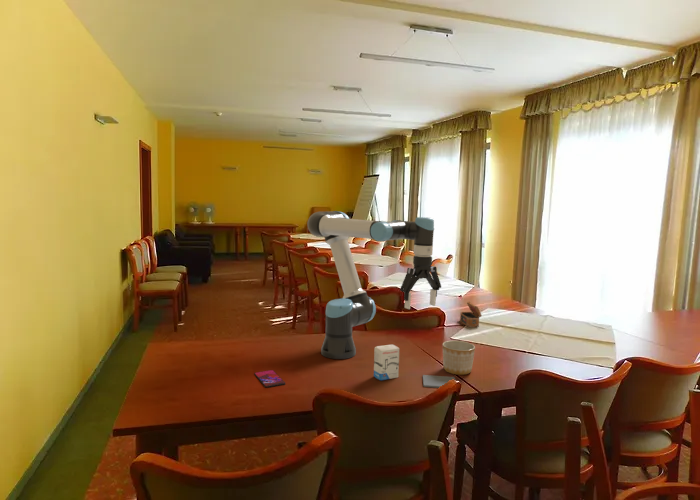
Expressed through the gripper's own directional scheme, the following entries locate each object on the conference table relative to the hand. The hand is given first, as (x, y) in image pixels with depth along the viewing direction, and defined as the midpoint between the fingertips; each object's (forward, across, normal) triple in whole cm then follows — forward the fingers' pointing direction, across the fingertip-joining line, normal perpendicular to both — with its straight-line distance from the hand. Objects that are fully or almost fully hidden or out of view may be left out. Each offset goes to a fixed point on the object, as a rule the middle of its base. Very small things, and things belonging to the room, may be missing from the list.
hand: (420, 306), depth 190 cm
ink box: (+24, -20, -6) cm, 32 cm away
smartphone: (+25, -60, +14) cm, 66 cm away
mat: (+24, -6, -20) cm, 32 cm away
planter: (+24, +9, -14) cm, 29 cm away
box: (+25, +67, +33) cm, 79 cm away
